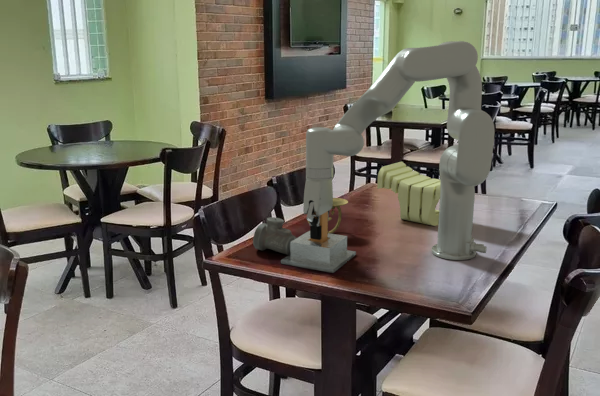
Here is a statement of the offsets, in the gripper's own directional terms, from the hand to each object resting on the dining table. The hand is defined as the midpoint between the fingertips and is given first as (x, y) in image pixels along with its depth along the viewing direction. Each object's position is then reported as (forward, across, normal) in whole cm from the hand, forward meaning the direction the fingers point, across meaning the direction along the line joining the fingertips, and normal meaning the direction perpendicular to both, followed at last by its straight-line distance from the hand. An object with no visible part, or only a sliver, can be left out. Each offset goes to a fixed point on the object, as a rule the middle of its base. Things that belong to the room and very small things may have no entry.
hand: (319, 236), depth 164 cm
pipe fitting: (+7, 0, -14) cm, 16 cm away
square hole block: (+7, 0, 0) cm, 7 cm away
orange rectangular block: (+2, 0, 0) cm, 2 cm away
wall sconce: (+7, -22, -7) cm, 24 cm away
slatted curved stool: (+7, -53, +16) cm, 56 cm away
